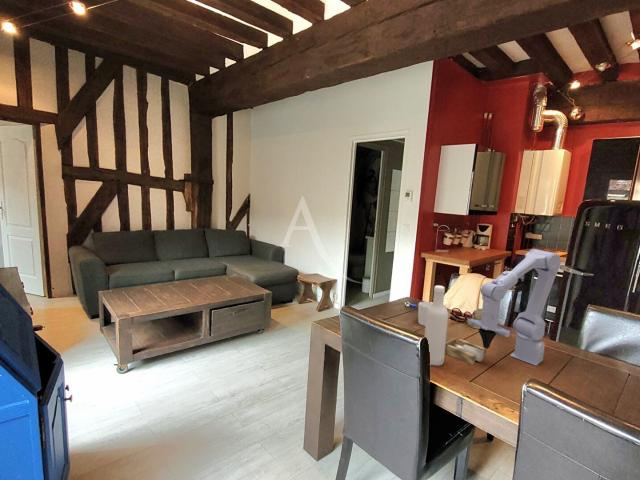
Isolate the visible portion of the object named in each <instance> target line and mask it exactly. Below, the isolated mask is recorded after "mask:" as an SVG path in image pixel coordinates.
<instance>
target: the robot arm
mask: <svg viewBox="0 0 640 480" xmlns="http://www.w3.org/2000/svg"><path fill="white" fill-rule="evenodd" d="M524 256H525V257H524V259H523V260H521V261H520V262H519V263H518V264H517V265H516V266H515V267H514V268H513V269H511V270H510V271H509V270H505V271H502V272H501V274H499V275H498V276H497V277H496V278H494V279H493V280H492V281H488V282H486V283H484V284H483V285H482V286H481V288H480V290H479V291H480V294H481V295H482V296H481V297H482V298H481V299H482V307H481V309H482V316H481V321H480V320H475V319H472V318H470V320H469V324H470V325H475V326H478V327H480V329H478V333H479V335H480V337H481V342H482V345H483V346H482V347H483V348H486V350H488V349H489V348H490V347H491V343H492V341H493V340H494V338H495V337H496V335H497V334H499V335H502V336H504V337H506V338H509V337H511V336H510V335H511V331H510V330H508V329H506V328H503V327H501V326H500V325H498V322H499V315H500V307H501V300H503V299H505V296H506V294H507V293H508V290H510V289H511V288H513V287H514V286H515V285H516V284H517V283H518V282H519V278H520V277H522V276H524V275H525V274H526V273H528V272H530V271H531V270H533V269H534V270H535V271H536V273H537V274H538V275H537V278H536V281H535V284H534V286H533V289H532V291H531V295H530V298H529V299H528V303H527V305H526V308H525V310H524V311H523V312H519V313H518V315H517V316H516V318H515V320H514V321H513V323H512V328H513V330H514V331H515V334H516V340H515V346H514V352H512V353H511V354H510V357H511V358H515V359H517V360H519V361H523V362H525V363H528V364H531V365H533V366H535V367H536V366H538V365H539V364H541V363H542V361H543V360H544V354H545V353H544V352H545V346H546V345H545V342H544V341H542V340H541V339H543V337H544V336H545V328H546V322H545V320H544V318H543V317H542V314H543V311H544V309H545V306H546V304H547V301H548V298H549V294H550V293H551V290H552V287H553V284H554V281H555V278H556V276H557V275H558V272H559V269H560V266H561V264H562V259H561V257H560V255H559V254H558V253H557V252H550V251H545V250H541V249H537V248H532V249H529V251H528V252H526V253H525V255H524Z"/></svg>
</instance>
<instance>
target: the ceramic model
mask: <svg viewBox="0 0 640 480" xmlns="http://www.w3.org/2000/svg"><path fill="white" fill-rule="evenodd" d="M481 316H482V308H477V309H475V310H473V311H472V314H471V318H470V317H467V319H466V325H467V326H469V327H470V328H472V329H473V328H474V329H477V330H480V327H478V326H475V325H470V324H469V320H470V319H475V320H480V321H481Z"/></svg>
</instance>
